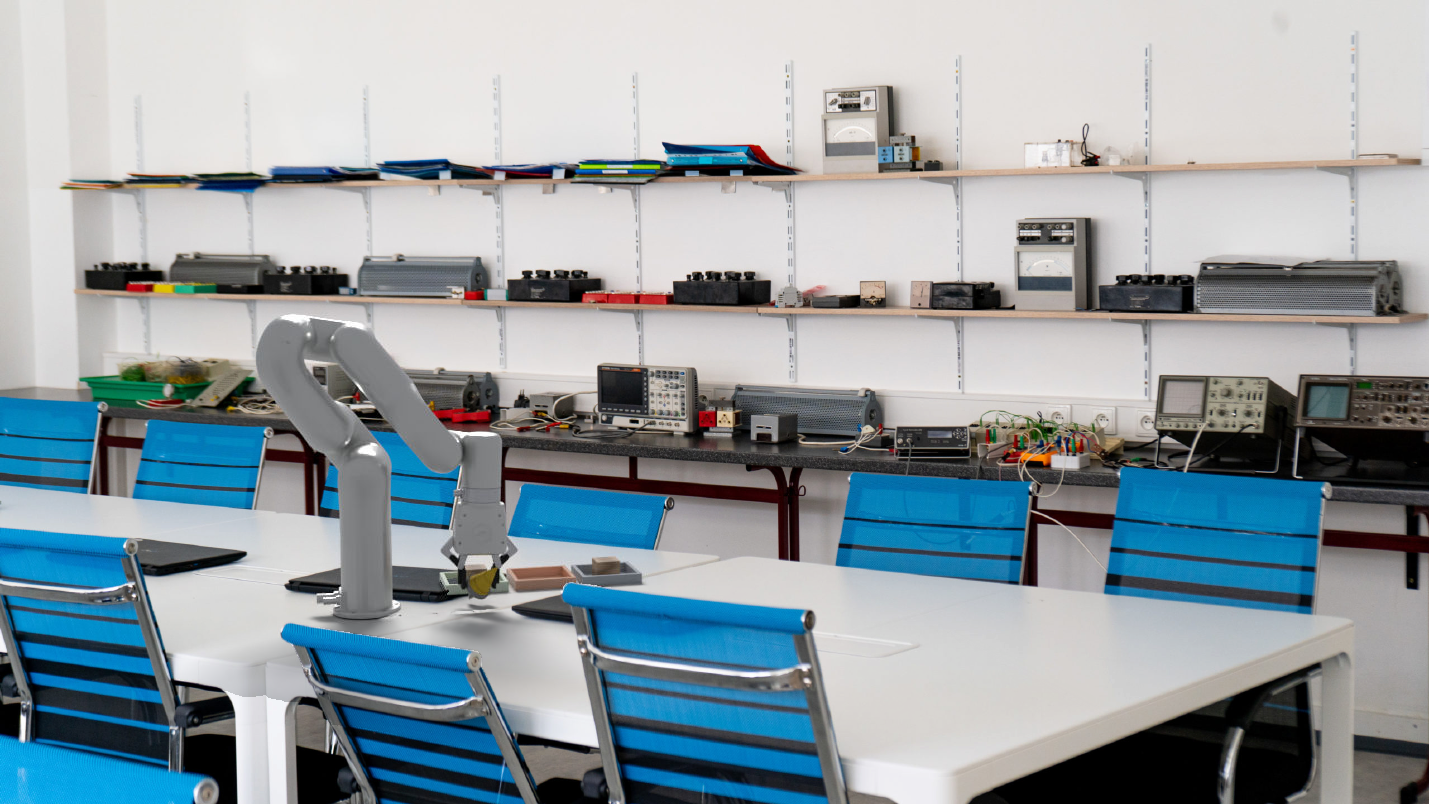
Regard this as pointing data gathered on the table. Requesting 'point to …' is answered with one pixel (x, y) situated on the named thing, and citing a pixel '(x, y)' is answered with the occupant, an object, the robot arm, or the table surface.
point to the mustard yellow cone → (480, 584)
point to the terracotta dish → (539, 577)
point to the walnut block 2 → (605, 566)
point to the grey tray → (626, 575)
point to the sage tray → (457, 589)
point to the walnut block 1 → (474, 569)
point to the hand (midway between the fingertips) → (478, 586)
